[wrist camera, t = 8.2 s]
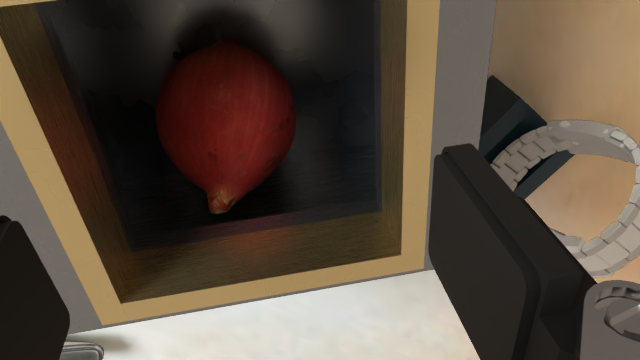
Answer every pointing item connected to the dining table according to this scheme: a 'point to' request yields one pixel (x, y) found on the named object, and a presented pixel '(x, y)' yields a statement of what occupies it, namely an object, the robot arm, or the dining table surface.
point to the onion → (225, 120)
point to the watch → (548, 156)
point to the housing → (265, 200)
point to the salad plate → (81, 351)
